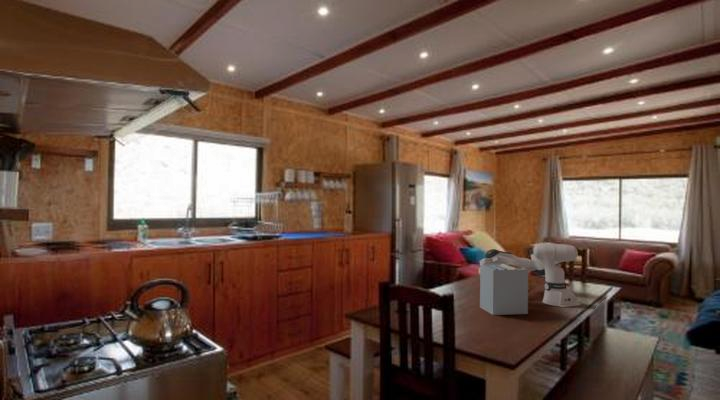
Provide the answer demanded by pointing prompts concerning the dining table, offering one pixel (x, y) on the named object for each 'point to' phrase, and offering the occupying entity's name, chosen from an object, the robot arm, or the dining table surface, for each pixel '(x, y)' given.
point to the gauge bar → (508, 260)
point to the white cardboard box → (504, 289)
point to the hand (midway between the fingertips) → (501, 257)
